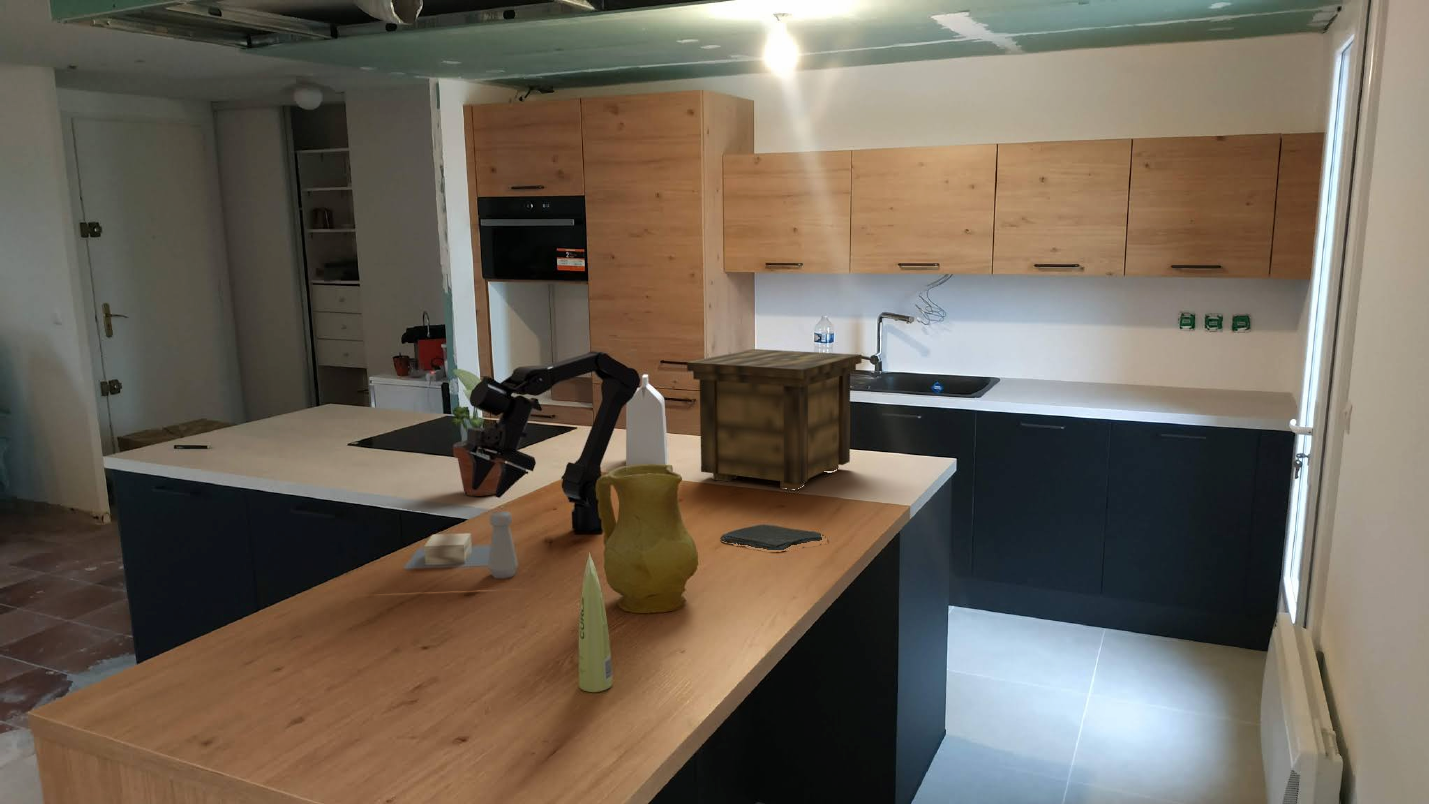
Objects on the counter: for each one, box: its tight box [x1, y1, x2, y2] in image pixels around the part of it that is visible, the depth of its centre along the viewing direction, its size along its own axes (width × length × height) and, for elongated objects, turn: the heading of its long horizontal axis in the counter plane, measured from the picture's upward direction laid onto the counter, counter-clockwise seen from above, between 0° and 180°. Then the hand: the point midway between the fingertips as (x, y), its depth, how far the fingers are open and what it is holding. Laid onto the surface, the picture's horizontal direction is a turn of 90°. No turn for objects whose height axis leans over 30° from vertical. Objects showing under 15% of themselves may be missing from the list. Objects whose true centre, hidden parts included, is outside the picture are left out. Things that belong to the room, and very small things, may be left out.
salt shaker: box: [487, 510, 519, 580], centre depth 196 cm, size 6×6×13 cm
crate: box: [686, 348, 863, 491], centre depth 275 cm, size 35×35×33 cm
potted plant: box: [451, 368, 507, 497], centre depth 260 cm, size 16×15×35 cm
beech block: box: [423, 532, 473, 565], centre depth 208 cm, size 8×8×4 cm
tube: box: [578, 552, 613, 693], centre depth 147 cm, size 6×5×20 cm
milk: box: [625, 374, 669, 466], centre depth 294 cm, size 12×12×26 cm
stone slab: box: [719, 524, 827, 550], centre depth 217 cm, size 24×17×2 cm
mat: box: [403, 544, 491, 570], centre depth 210 cm, size 18×14×1 cm
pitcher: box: [596, 464, 699, 614], centre depth 181 cm, size 17×19×25 cm
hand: (485, 493), depth 208 cm, fingers open, 9 cm apart
